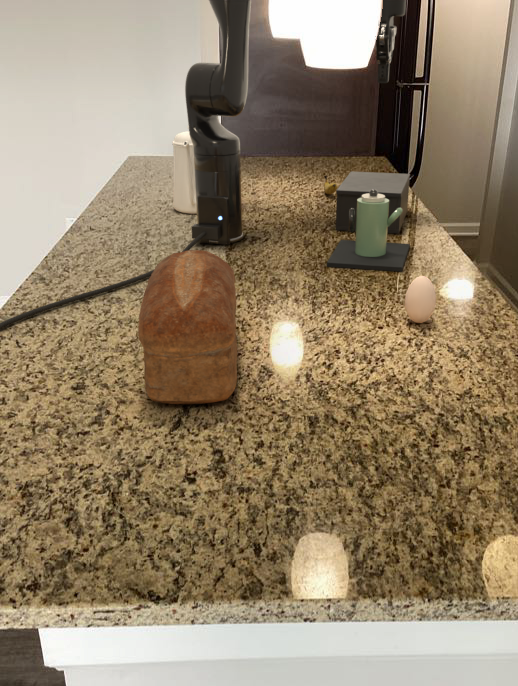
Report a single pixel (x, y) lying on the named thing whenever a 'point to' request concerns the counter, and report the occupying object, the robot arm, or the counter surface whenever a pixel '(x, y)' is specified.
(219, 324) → the bread
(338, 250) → the mat
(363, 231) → the kettle
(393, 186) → the storage bin lid
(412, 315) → the egg
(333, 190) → the banana
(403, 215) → the dark gray storage bin
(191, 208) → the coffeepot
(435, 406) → the counter surface
